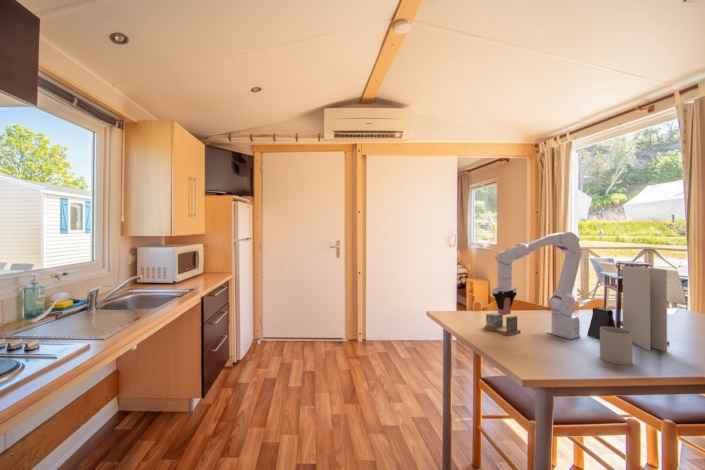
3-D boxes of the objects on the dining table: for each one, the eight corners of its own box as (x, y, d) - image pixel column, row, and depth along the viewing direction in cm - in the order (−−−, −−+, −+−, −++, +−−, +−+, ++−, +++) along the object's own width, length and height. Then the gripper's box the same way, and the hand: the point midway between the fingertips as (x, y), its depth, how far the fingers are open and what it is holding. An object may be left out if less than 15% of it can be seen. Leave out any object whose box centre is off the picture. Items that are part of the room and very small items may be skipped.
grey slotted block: (520, 333, 129) (520, 316, 129) (509, 335, 125) (509, 318, 126) (495, 325, 140) (495, 310, 140) (484, 328, 136) (484, 312, 136)
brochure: (667, 351, 109) (666, 269, 109) (649, 350, 110) (649, 269, 110) (638, 339, 122) (638, 266, 123) (622, 338, 124) (622, 266, 124)
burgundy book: (510, 313, 132) (510, 297, 132) (503, 315, 129) (503, 299, 130) (505, 312, 134) (505, 296, 134) (498, 313, 132) (498, 298, 132)
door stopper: (601, 340, 121) (601, 310, 121) (587, 335, 127) (587, 307, 127) (618, 338, 123) (618, 309, 123) (603, 333, 129) (603, 306, 129)
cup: (599, 352, 107) (599, 325, 107) (630, 358, 102) (630, 329, 102) (600, 360, 101) (600, 330, 101) (633, 366, 96) (633, 335, 96)
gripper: (506, 275, 139) (506, 304, 139) (486, 277, 132) (486, 308, 132) (521, 277, 133) (521, 308, 133) (500, 279, 126) (500, 311, 125)
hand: (504, 308), depth 132 cm, fingers closed on burgundy book, 5 cm apart
